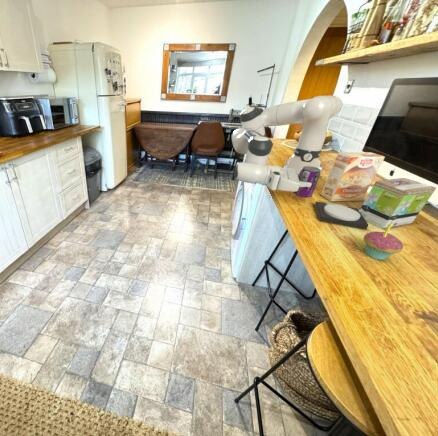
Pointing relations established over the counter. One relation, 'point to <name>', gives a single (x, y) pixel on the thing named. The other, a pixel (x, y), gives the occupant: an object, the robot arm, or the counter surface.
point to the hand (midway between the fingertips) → (309, 181)
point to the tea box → (395, 201)
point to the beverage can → (310, 176)
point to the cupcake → (382, 244)
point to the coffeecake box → (351, 176)
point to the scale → (340, 215)
